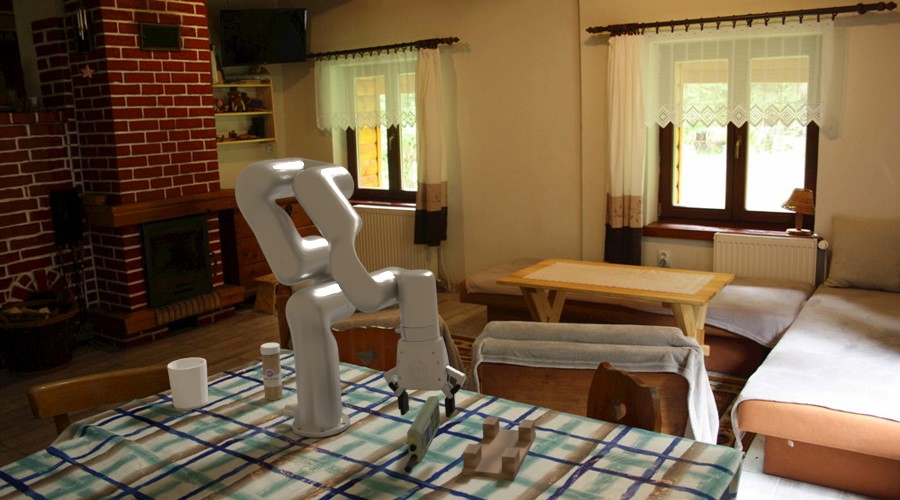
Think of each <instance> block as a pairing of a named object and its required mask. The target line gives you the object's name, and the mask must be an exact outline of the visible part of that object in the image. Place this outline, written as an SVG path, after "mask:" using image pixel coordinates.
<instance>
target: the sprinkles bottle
mask: <svg viewBox="0 0 900 500" xmlns="http://www.w3.org/2000/svg"><path fill="white" fill-rule="evenodd" d="M259 350H260V355H261V365H262V366H261V367H262V380H263V387H264V390H263V391H264V399H265V400H267V401H276V400H280V399H281V398H283V396H284V394H283V381H282V379H283V377H282V367H281V358H280V357H281V355H280V352H281V345H280V343H277V342H266V343H263V344H261V345H260V348H259Z"/></svg>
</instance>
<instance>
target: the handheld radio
mask: <svg viewBox="0 0 900 500" xmlns="http://www.w3.org/2000/svg"><path fill="white" fill-rule="evenodd" d="M440 413H441V412H440V399H439V396H437V395H431V396H430V395H429V396H428V397H427V399H426V400H425V401H424V404H423V405H422V407H421V409H420V410H419V412H418V413H417V415H416V417H415V418H414V420H413V422H412V423H411V425H410V427H409V429H408V430H407V432H406V435H407V446H408V447H407V448H408V458H409V460H408V461H407V462H406V465H405V466H404V469H403V470H404V472H405V473H406V474H409V473H410V472H411V471H412V470H413V468H414V466H415V464H416V463H421V462H422V461H423V459H424V457H425V454H426V453H427V451H428V449H429V447H430V446H431V443H432V442H433V439H434V438H435V436H436V434H437V431H439V430H438V429H439V428H440V426H441V423H442V422H441V414H440Z"/></svg>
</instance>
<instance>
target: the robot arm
mask: <svg viewBox="0 0 900 500" xmlns="http://www.w3.org/2000/svg"><path fill="white" fill-rule="evenodd" d="M354 190H355V182H354V180H353V176H352V175H351V172H349V171H348V169H346V167H344V166H342V165H340V164H337V163H331V162H325V161H320V160H314V159H310V158H303V157H284V158H276V159H275V158H274V159H264V160H260V161H256V162H252V163H250V164H248V165H247V166H245V167H244V168H243V169H242V170H241V171H240V172H239V174H238V176H237V178H236V181H235V188H234V192H235V193H234V195H235V200H236V204H237V207H238V208H239V211H240V213H241V214H242V216H243V219H244V220H245V221H246V223H247V224H248V227H250V229H251V230H252V233H254V236H255V238H256V240H257V243H258V245H259V247H260V249H261V251H262V253H263V255H264V257H265V259H266V261H267V263H268V265H269V267H270V269H271V271H272V273H273V275H274V277H275V279H276V280H277V282H279V283H280V284H282V285H284V286H294V285H295V286H296V285H298V284H301V283H305V282H308V281H311V283H312V284H311V285H308V286H304V287H303V288H301V289H299V290H297V291H295V292H294V293H293V294H292V295H291V296H290V297H289V298H288V300H287V302H286V305H285V317H286V321H287V324H288V327H289V328H288V329H289V331H290V337H291V341H292V348H293V349H292V351H293V359H294V373H295V386H296V398H297V400H296V401H297V405H294V404H285V405H284V408H283V417H286V418H293V419H294V420H293V422H292V424H291V428H292V432H293V433H295V435H298V436H301V437H306V438H324V437H330V436H333V435H337V434H340V433H342V432H344V431H345V430H346V429H348V428H349V427H350V424H351V418H350V416H349V414H346V413H344V412H343V401H342V387H341V386H342V385H341V371H340V370H341V369H340V357H339V347H338V343H337V340H336V337H335V336H334V334H333V332H332V330H331V326H332V325H334V324H337V323H338V322H341V321H343V320H344V321H345V319H348V318H349V317H351V316H352V315H353V313H355V311H356V309H357V310H359V311H360V312H363V313H367V314H369V313H375V312H378V311H381V310H383V309H385V308H387V307H390V306H393V305H396V304H398V305H399V315H400V317H399V318H400V325H398V326H395V328H394V331H395V333H396V334H400V338H399V339H398V341H397V349H396V366H395V367H393V368H391V369H390V370H388V371H386V372H384V374H383V379H384V380H385V382H386V383H387V385H388V387H389V389H390V390H391V391H393V392H394V395H395V397H397V407H398V408H397V409H398V410H400V411H399V412H400V416H405V415H406V414H407V413H408V412H409V411H410V405H409V404H410V401H409V393H408V392H407V390H408V391H430V392H431V391H432V392H433V391H434V392H437V391H441V392H442V393H443V394H444V396H446V397H445V398H444V410H445V412H444V413H445V417H446V418H451V417H452V416H453V414H454V413H455V411H456V394H457V393H458V392H460V389H462V387H463V384H464V383H465V381H466V379H467V375H466V374H465V373H463V372H461V371H459V370H457V369H455V368H453V366H450V363H449V355H448V352H447V351H448V350H447V347H446V342H445V341H444V337H443V336H441V335H440V321H439V310H438V296H437V294H438V293H437V284H436V283H437V282H436V277H435V274H434V272H432V271H431V270H428V269H407V268H402V267H398V266H387V267H384V268H381V269H378V270H374V271H371V272H368V271H367V269H366V268H365V266H364V265H363V264H362V262H361V261H360V259H359V257H358V254H357V251H356V249H355V248H356V247H355V241H356V237H357V235H358V234H359V233H360V231H361V230H362V228H363V219H362V217H361V216H360V215H359V214H358V212H357V211H356V210H355V208H354V206H353V205H352V204H351V203H350V201H349V199H350V198H351V197H352V196H353V194H354ZM289 197H294V198H296V200H297V202H298V203H299V205H300V206H301V208H302V209H303V210H304V212H305V213H306V214H307V216H308V217H309V219H310V220H311V221H312V223H313V224H314V225H315V227H316V228H317V231H319V233H320V234H321V236H320V235H308V236H305V237H302V236H301V235H300V233H299V231H298V229H296V226H295V223H294V221H293V220H292V218H291V217H290V215H289V214H288V212H287V211H285V209H283V207H281V206H280V205H278V204H277V202H276V200H277V199H285V198H289ZM395 375H396V380H395V378H394V376H395ZM451 377H452V378H454V379H455V380H456V383H455V385H454V386H453V384H452V383H451V382H450V381H451Z"/></svg>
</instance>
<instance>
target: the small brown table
mask: <svg viewBox="0 0 900 500" xmlns="http://www.w3.org/2000/svg"><path fill="white" fill-rule="evenodd" d="M484 419H485V420H484V421H483V423H482V439H481V440H480V441H479V443H478V444H475V443H468V444H467V445H466V447H465V449H464V450H463V451H462V460H463V463H462V466H463V467H462V469H461V475H463V476H471V477H482V478H490V479H500V480H508V481H509V480H510V481H515V480H516V477H517V476H518V473H519V471H520V469H521V467H522V465H523V463H524V461H525V459H526V457H527V455H528V453H529V451H530V449H531V447H532V446H533V443H534V441H535V439H536V437H537V435H536V434H537V433H536V430H535V427H536V426H535V420H534V419H533V420H532V419H523V418H522V420H521V421H520V423H519V426H518V427H517V430H514V429H507V428H505V429H503V428H500V417H498V416H489V415H487V417H486V418H484Z"/></svg>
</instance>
